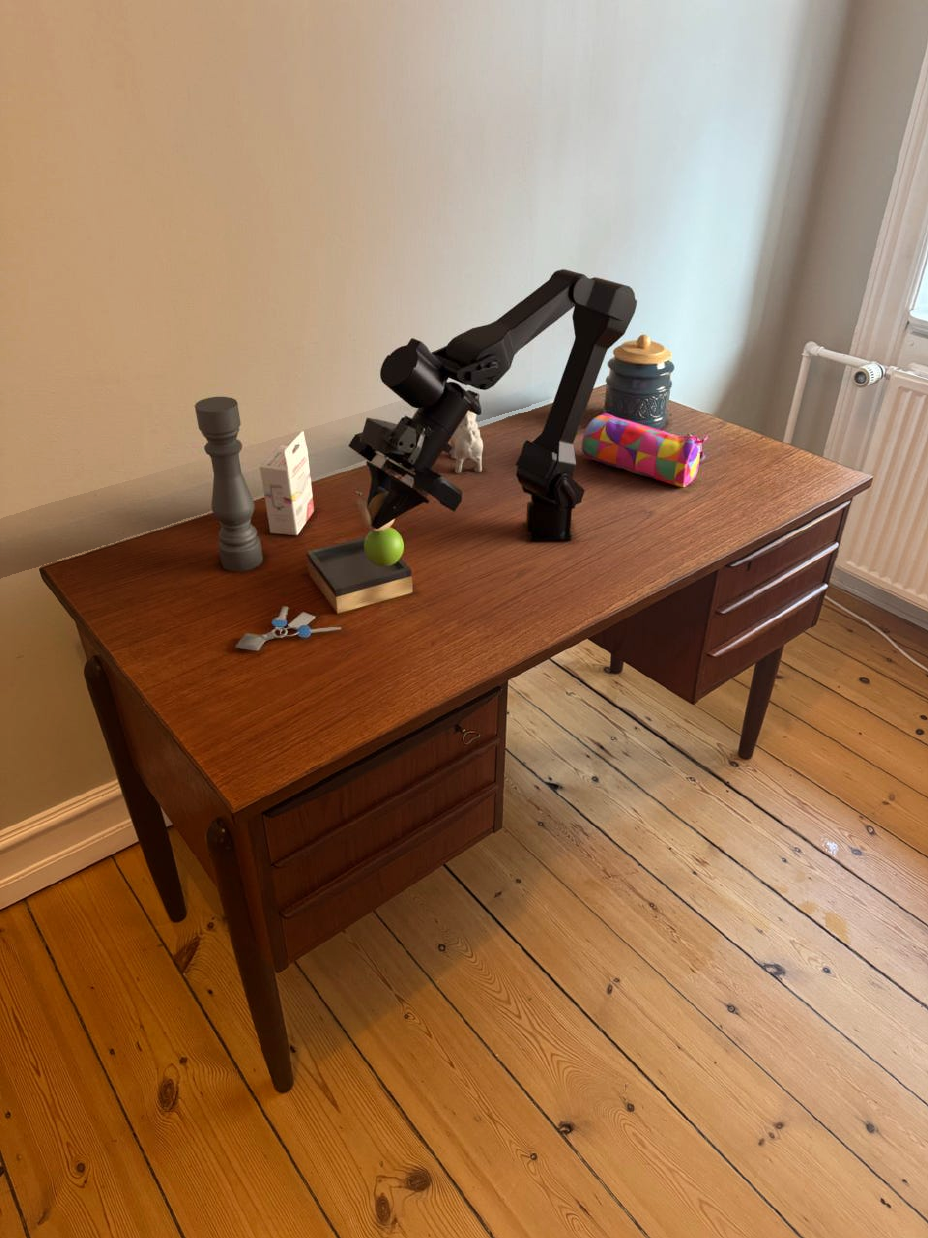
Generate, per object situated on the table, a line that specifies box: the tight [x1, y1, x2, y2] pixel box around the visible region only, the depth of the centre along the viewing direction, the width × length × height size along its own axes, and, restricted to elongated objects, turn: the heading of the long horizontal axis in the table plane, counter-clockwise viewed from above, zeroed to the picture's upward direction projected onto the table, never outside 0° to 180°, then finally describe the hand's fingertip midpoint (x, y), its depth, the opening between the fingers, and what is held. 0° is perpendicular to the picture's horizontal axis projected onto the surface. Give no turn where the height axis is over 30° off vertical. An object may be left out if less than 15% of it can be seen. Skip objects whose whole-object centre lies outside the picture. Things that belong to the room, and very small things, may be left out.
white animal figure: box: [450, 411, 484, 474], centre depth 161 cm, size 5×13×11 cm, turn 8°
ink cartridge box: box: [258, 430, 315, 536], centre depth 140 cm, size 9×5×15 cm, turn 168°
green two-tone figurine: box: [354, 490, 405, 566], centre depth 117 cm, size 5×6×12 cm
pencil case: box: [581, 412, 709, 488], centre depth 157 cm, size 22×9×9 cm, turn 58°
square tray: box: [306, 536, 413, 614], centre depth 128 cm, size 12×12×4 cm
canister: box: [602, 334, 675, 430], centre depth 174 cm, size 13×13×18 cm
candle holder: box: [194, 396, 264, 572], centre depth 127 cm, size 6×6×25 cm
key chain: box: [235, 605, 342, 652], centre depth 119 cm, size 14×8×1 cm, turn 114°
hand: (369, 524), depth 116 cm, fingers closed on green two-tone figurine
